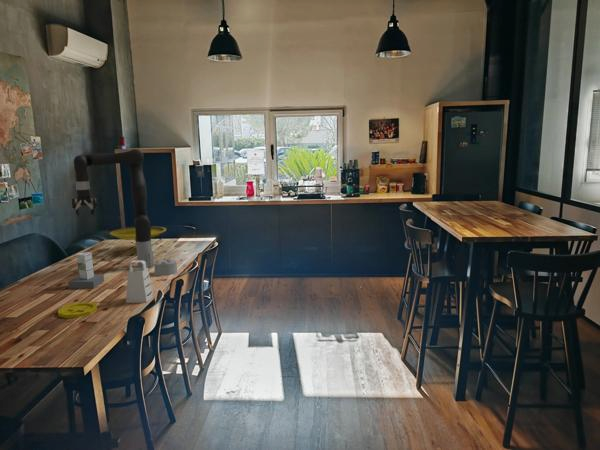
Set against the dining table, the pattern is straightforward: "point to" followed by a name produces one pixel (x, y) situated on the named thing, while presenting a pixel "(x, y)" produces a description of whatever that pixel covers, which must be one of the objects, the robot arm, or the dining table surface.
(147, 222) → the robot arm
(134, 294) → the grater
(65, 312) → the decorative disc
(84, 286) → the charcoal plinth
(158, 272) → the lumpy-topped squat cylinder
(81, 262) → the syrup box
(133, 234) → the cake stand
